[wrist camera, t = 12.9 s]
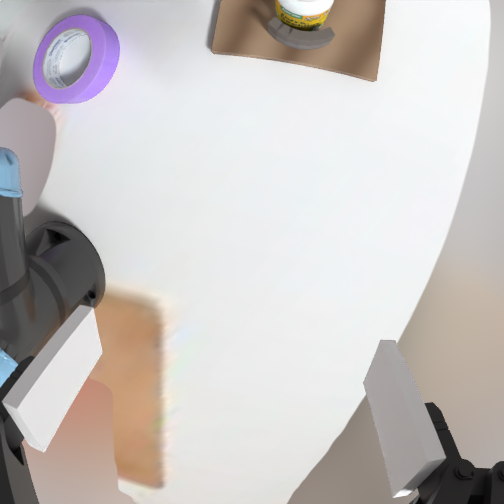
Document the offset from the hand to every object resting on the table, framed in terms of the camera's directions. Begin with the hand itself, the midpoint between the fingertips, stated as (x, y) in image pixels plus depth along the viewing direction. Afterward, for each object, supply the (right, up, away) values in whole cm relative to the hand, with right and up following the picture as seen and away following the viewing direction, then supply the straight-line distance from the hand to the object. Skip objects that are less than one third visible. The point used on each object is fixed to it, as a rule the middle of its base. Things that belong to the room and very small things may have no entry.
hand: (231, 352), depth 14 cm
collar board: (+6, +30, +15) cm, 34 cm away
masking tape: (-21, +29, +18) cm, 40 cm away
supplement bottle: (+6, +30, +13) cm, 33 cm away
